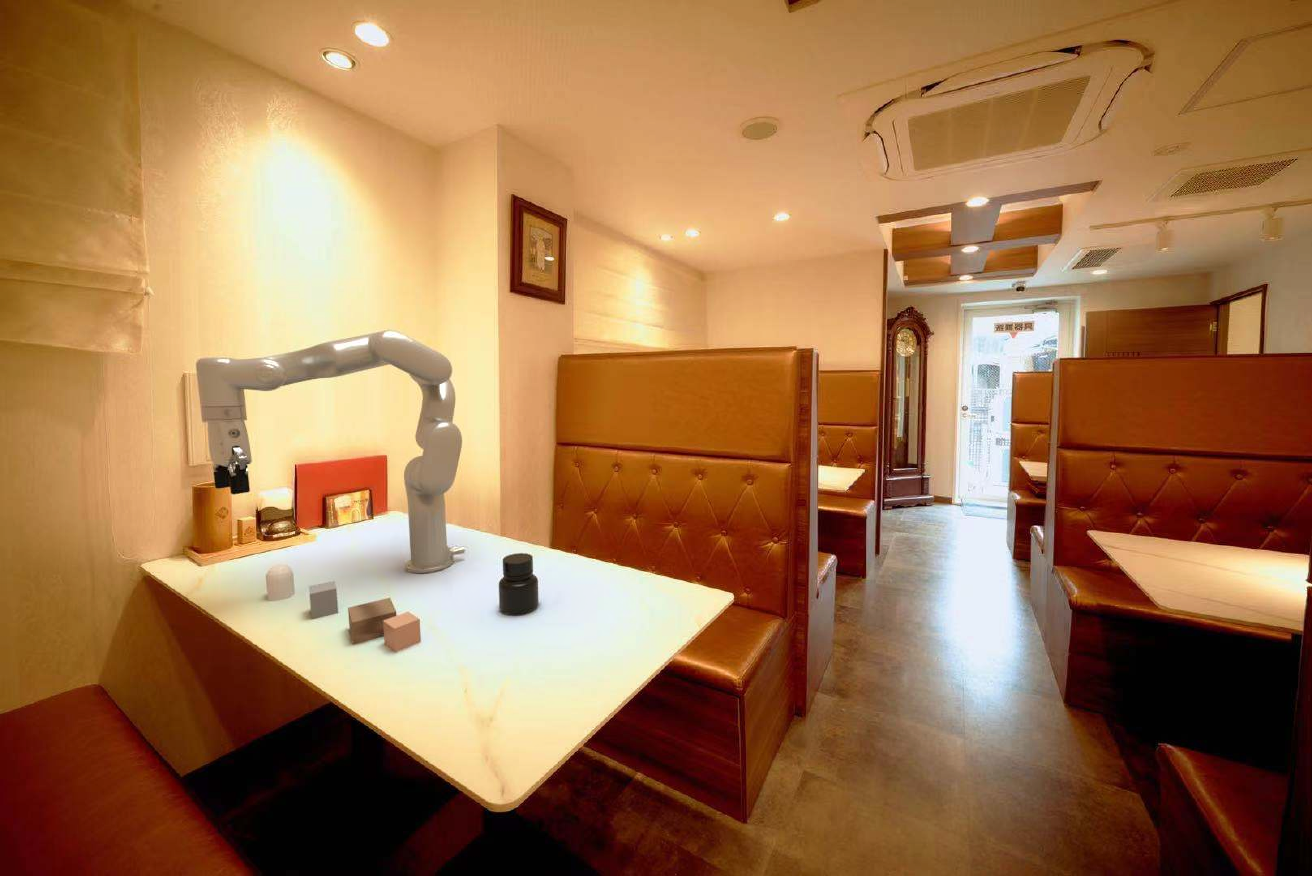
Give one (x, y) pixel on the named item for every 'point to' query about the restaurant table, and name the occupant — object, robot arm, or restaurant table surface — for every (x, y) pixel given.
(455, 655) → the restaurant table surface
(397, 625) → the terracotta cube
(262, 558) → the restaurant table surface
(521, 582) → the ink bottle
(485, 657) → the restaurant table surface
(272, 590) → the capsule
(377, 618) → the walnut block
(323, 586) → the grey block
